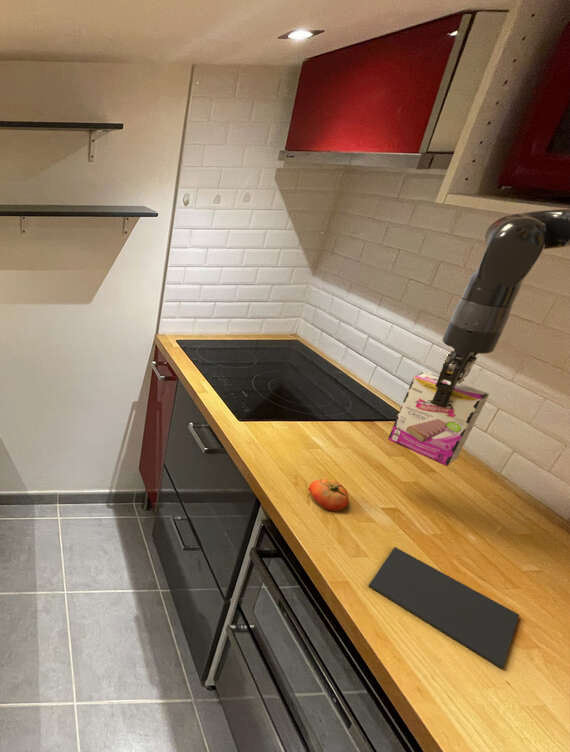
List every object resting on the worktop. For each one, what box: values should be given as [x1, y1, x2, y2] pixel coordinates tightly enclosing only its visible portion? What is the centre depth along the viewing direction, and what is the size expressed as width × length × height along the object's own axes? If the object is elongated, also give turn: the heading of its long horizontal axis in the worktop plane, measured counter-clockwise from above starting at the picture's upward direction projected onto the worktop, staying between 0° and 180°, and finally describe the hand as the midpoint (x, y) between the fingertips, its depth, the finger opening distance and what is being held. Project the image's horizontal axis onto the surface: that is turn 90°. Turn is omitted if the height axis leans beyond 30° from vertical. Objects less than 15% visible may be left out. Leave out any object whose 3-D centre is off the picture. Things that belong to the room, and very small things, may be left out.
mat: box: [368, 546, 520, 670], centre depth 79 cm, size 18×14×1 cm
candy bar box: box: [387, 371, 490, 467], centre depth 93 cm, size 11×5×16 cm, turn 31°
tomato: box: [307, 478, 350, 512], centre depth 101 cm, size 8×7×7 cm
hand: (442, 400), depth 92 cm, fingers closed on candy bar box, 5 cm apart
